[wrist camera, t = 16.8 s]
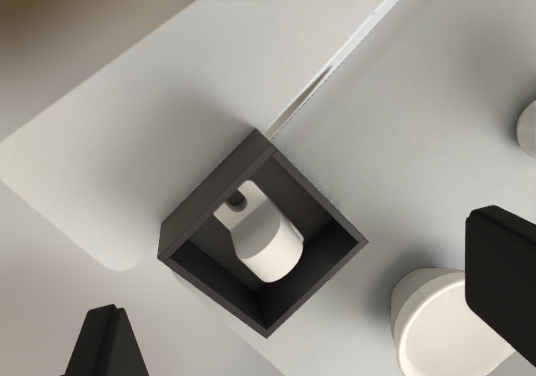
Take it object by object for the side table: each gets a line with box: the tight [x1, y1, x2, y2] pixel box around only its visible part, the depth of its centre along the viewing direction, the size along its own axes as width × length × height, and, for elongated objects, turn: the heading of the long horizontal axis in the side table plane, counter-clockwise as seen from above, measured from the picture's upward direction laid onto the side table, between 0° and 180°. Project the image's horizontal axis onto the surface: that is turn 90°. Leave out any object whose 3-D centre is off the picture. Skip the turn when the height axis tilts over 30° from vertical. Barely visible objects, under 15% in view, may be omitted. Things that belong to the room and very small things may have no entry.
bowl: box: [390, 267, 512, 376], centre depth 49 cm, size 16×16×8 cm
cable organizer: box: [213, 177, 304, 282], centre depth 39 cm, size 5×10×10 cm, turn 40°
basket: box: [157, 129, 368, 339], centre depth 41 cm, size 15×15×8 cm
